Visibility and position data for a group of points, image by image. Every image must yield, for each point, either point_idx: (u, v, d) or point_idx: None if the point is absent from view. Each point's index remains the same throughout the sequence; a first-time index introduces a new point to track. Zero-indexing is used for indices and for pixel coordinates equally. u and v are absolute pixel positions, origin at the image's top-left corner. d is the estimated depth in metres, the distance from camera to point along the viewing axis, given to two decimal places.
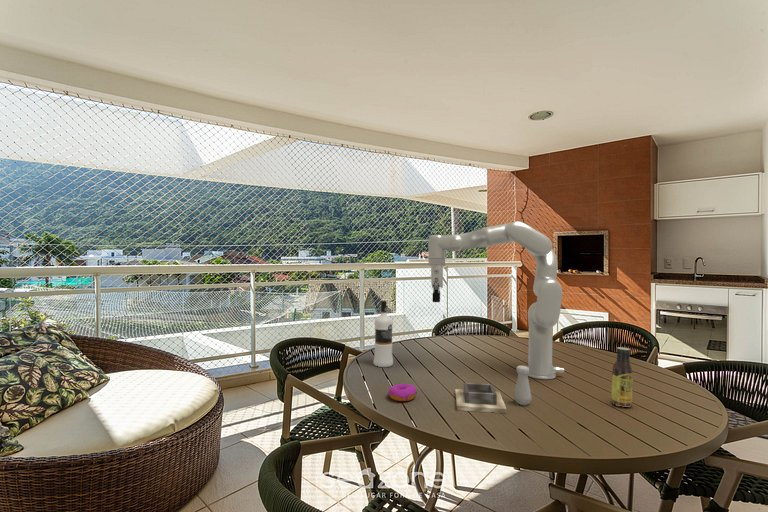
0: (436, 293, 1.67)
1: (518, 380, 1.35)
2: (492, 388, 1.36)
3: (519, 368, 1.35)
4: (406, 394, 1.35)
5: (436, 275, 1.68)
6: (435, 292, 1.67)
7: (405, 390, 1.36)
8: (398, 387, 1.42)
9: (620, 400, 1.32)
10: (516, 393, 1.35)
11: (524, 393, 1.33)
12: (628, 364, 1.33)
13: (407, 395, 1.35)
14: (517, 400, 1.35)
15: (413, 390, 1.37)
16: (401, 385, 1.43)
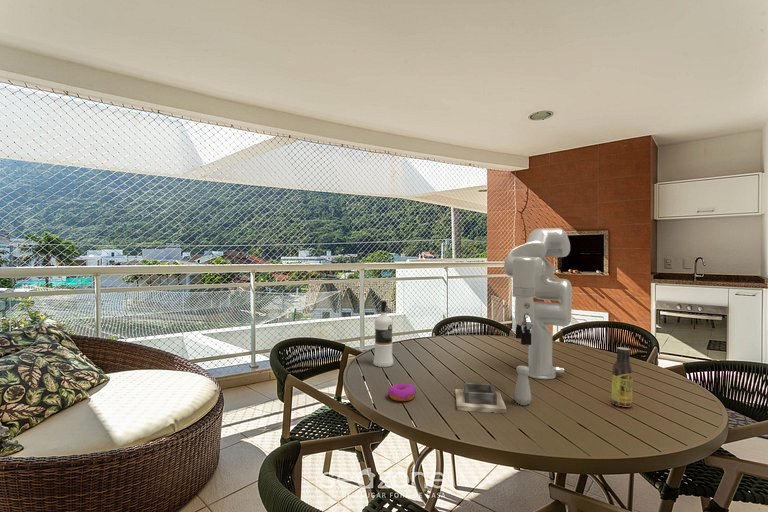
0: (527, 333, 1.30)
1: (518, 380, 1.35)
2: (492, 388, 1.36)
3: (519, 368, 1.35)
4: (406, 394, 1.35)
5: (526, 310, 1.31)
6: (526, 332, 1.29)
7: (405, 390, 1.36)
8: (398, 387, 1.42)
9: (620, 400, 1.32)
10: (516, 393, 1.35)
11: (524, 393, 1.33)
12: (628, 364, 1.33)
13: (406, 395, 1.35)
14: (517, 400, 1.35)
15: (413, 390, 1.37)
16: (401, 385, 1.43)
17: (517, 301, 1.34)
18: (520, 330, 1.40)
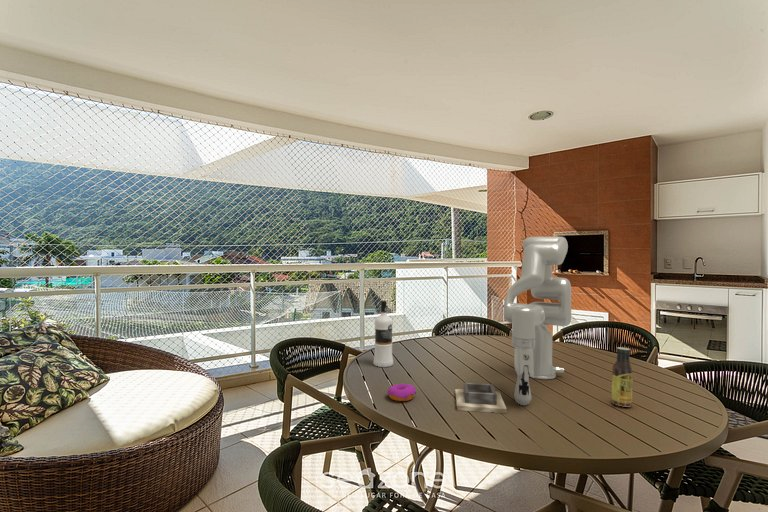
0: (524, 386, 1.33)
1: (518, 380, 1.35)
2: (492, 388, 1.36)
3: None
4: (405, 394, 1.35)
5: (526, 361, 1.31)
6: (523, 386, 1.33)
7: (404, 390, 1.36)
8: (397, 387, 1.42)
9: (620, 400, 1.32)
10: (516, 393, 1.35)
11: None
12: (628, 364, 1.33)
13: (406, 395, 1.35)
14: (517, 400, 1.35)
15: (412, 390, 1.37)
16: (400, 385, 1.43)
17: (517, 351, 1.34)
18: None
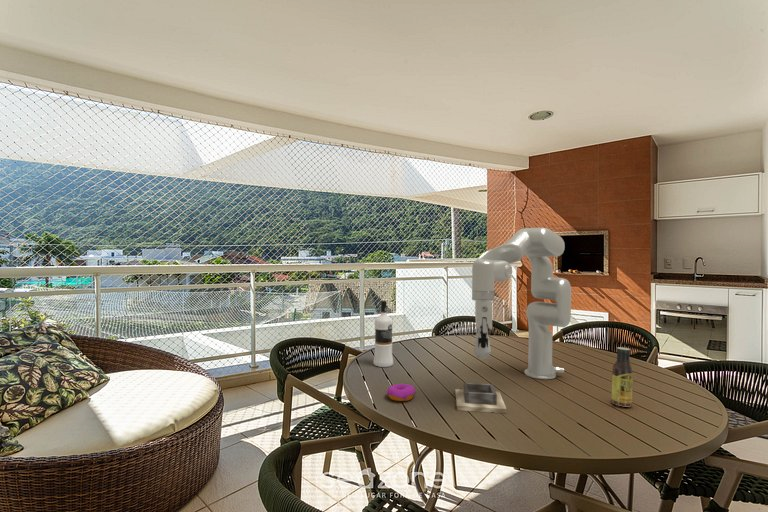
0: (483, 339, 1.33)
1: (478, 333, 1.35)
2: (492, 388, 1.36)
3: None
4: (405, 394, 1.35)
5: (484, 313, 1.31)
6: (482, 338, 1.33)
7: (404, 390, 1.36)
8: (397, 387, 1.42)
9: (620, 400, 1.32)
10: (475, 346, 1.35)
11: None
12: (628, 364, 1.33)
13: (405, 395, 1.35)
14: (477, 353, 1.35)
15: (412, 390, 1.37)
16: (400, 385, 1.43)
17: (476, 304, 1.34)
18: None
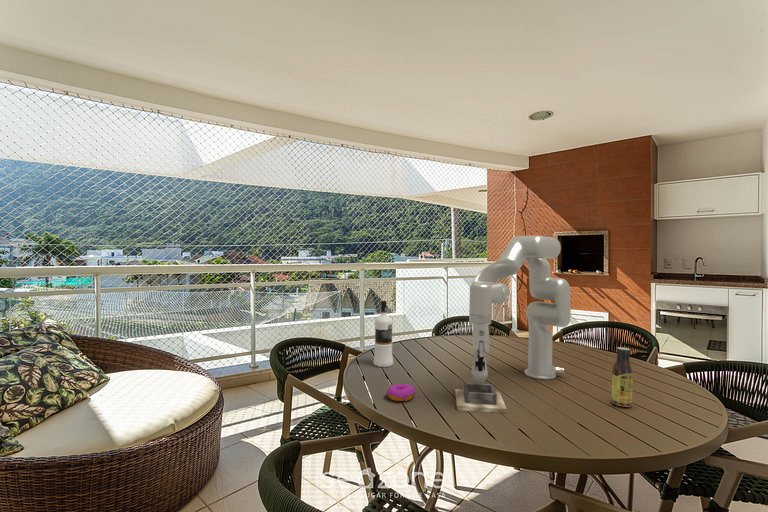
0: (480, 362, 1.33)
1: (475, 356, 1.35)
2: (492, 388, 1.36)
3: None
4: (405, 394, 1.35)
5: (481, 337, 1.31)
6: (479, 362, 1.33)
7: (403, 390, 1.36)
8: (396, 387, 1.42)
9: (620, 400, 1.32)
10: (472, 369, 1.35)
11: None
12: (628, 364, 1.33)
13: (405, 395, 1.35)
14: (473, 376, 1.35)
15: (411, 390, 1.37)
16: (399, 385, 1.43)
17: (473, 328, 1.34)
18: None
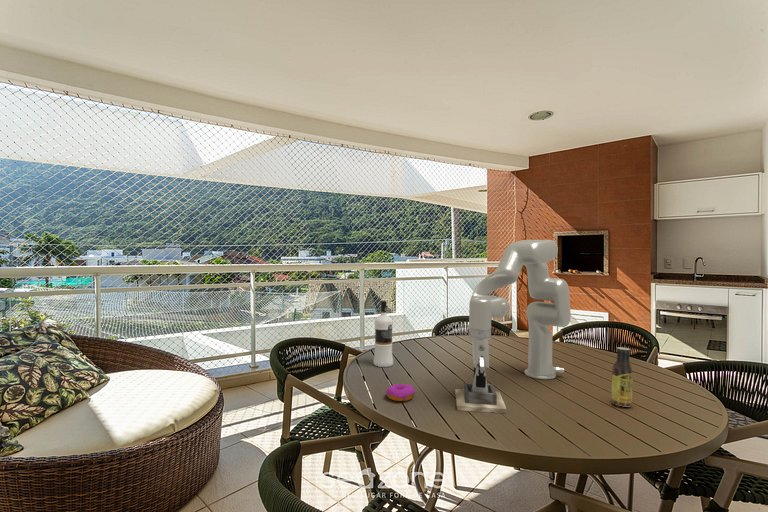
0: (481, 376, 1.31)
1: (475, 375, 1.35)
2: (492, 388, 1.36)
3: None
4: (404, 394, 1.35)
5: (481, 352, 1.31)
6: (480, 375, 1.30)
7: (403, 390, 1.36)
8: (396, 387, 1.42)
9: (620, 400, 1.32)
10: (473, 388, 1.35)
11: (480, 388, 1.34)
12: (628, 364, 1.33)
13: (405, 395, 1.35)
14: None
15: (411, 390, 1.37)
16: (399, 385, 1.43)
17: (473, 342, 1.34)
18: None
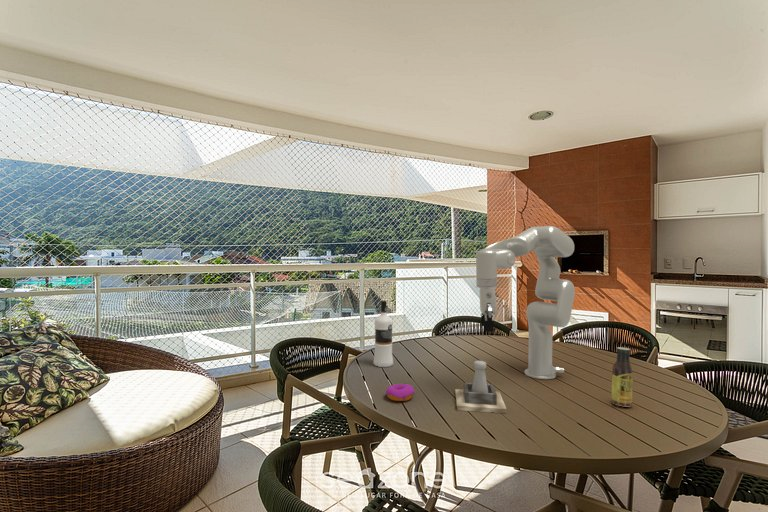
0: (489, 321, 1.39)
1: (475, 375, 1.36)
2: (492, 388, 1.36)
3: (476, 363, 1.35)
4: (404, 394, 1.35)
5: (488, 299, 1.40)
6: (488, 320, 1.39)
7: (402, 390, 1.36)
8: (396, 387, 1.42)
9: (620, 400, 1.32)
10: (473, 388, 1.35)
11: (480, 388, 1.34)
12: (628, 364, 1.33)
13: (404, 395, 1.35)
14: None
15: (410, 390, 1.37)
16: (399, 385, 1.43)
17: (480, 291, 1.43)
18: None
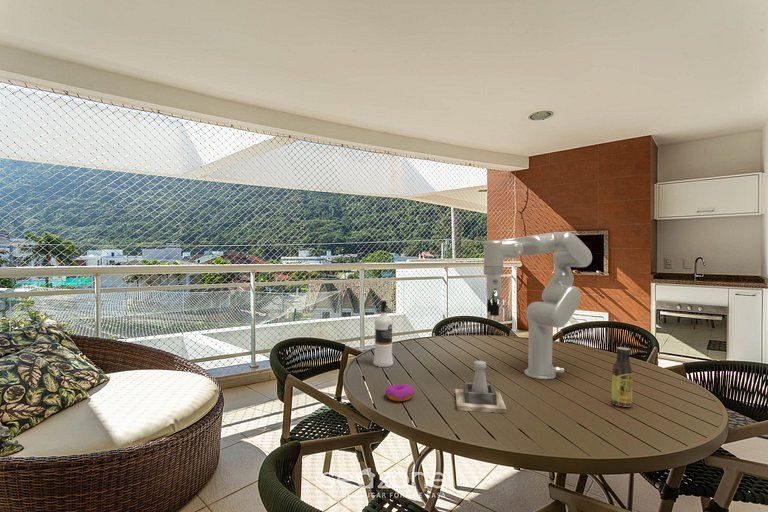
0: (495, 306, 1.50)
1: (475, 375, 1.36)
2: (492, 388, 1.36)
3: (476, 363, 1.35)
4: (403, 394, 1.35)
5: (494, 285, 1.51)
6: (494, 304, 1.49)
7: (402, 390, 1.36)
8: (395, 387, 1.42)
9: (620, 400, 1.32)
10: (473, 388, 1.35)
11: (480, 388, 1.34)
12: (628, 364, 1.33)
13: (404, 395, 1.35)
14: None
15: (410, 390, 1.37)
16: (398, 385, 1.43)
17: (487, 278, 1.54)
18: (491, 304, 1.60)
